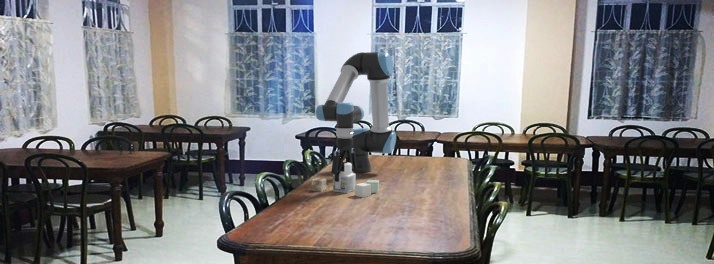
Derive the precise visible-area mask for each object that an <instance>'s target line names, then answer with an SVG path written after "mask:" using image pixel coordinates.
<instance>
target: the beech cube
mask: <svg viewBox="0 0 714 264" xmlns="http://www.w3.org/2000/svg"><path fill="white" fill-rule="evenodd" d="M325 189H326V190H327V178H322V177H315V178H312V179H311V191H312V190H313V191H314V192H321V191H322V192H324V191H325ZM323 190H324V191H323Z"/></svg>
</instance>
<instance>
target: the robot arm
mask: <svg viewBox="0 0 714 264" xmlns="http://www.w3.org/2000/svg"><path fill="white" fill-rule="evenodd" d="M393 73H394V62H393V58H392V56H391V55H390V53H388V52H383V51H378V52H377V51H375V52H373V51H372V52H371V51H370V52H357V53H355V54H353V55H352V56H350V57H349V58H348V59H347V60H346V61H345V62H344V63H343V65H342V66H341V68H340V74H339V76H338V78H337V80H336V82H335V83H334V85H333V88H331V92H330V93H329V95H328V97H327V99H326V101H325V102H324V104H319V105H317V107H316V109H315V117H316V119H317V120H318V121H323V122H336V129H335V130H336V132H335V133H336V143H335V144H336V146H337V150H335V151H334V150H333V152H332V156H333V157H332V163H331V164H332V165H331V172H330V173H331V174H333V175H334V174H335V188H337V189H341V174H340V171H341V167H342V164H343V162H349V163H351V164H352V172H351V173H354V174H356V173H359V174H360V173H370V172H371V171H372V165H371V161H370V158H369V153H373V154H391V153H393V151H394V149H395V147H396V146H395V145H396V142H397V134H396V132H395V131H393V128H392V127H391V126H390V121H389V101H388V100H389V99H388V81H389V79H390V78H391V77H390V76H392V75H393ZM359 76H366V77H367V81H369V82H370V96H371V97H370V99H371V114H372V115H371V117H372V118H371V119H372V126H371V127H370V129H369V128H368V127H361V128H360V127H359V128H354V123H358V122H360V121H362V120H363V119H364V116H365V111H364V109H363V108H362V107H361V106H359V105H354V104H353V102H344V101H345V99H346V97H347V95H348V93H349V91H350V89H351V87H352V85H353V83H354V81H355V80H357V79H358V77H359ZM337 171H338V172H337Z"/></svg>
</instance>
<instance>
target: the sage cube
mask: <svg viewBox="0 0 714 264" xmlns="http://www.w3.org/2000/svg"><path fill="white" fill-rule="evenodd" d="M366 184H370V185H371V194H379V191H380V180H379V179H367V181H366Z"/></svg>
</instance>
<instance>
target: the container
mask: <svg viewBox="0 0 714 264" xmlns="http://www.w3.org/2000/svg"><path fill="white" fill-rule="evenodd" d="M337 172H338V171H337ZM351 172H352V164H351V163H349V162H345V161H343V164H342V167H341V171H340V174H341V189H337V188H335V174H333V175H332V191H333V192H336V193H342V194H343V193H344V194H349V193H351V192H355V184H357V183H356V182H357V181H356V173H351Z"/></svg>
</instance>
